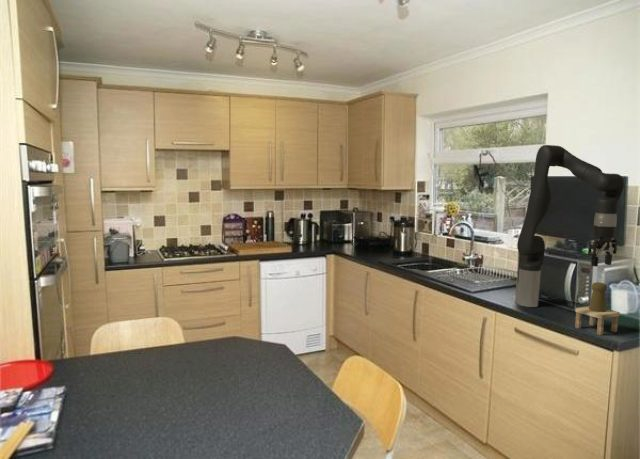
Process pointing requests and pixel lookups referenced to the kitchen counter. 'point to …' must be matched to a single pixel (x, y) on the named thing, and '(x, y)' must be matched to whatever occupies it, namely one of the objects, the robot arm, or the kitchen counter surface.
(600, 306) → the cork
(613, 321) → the birch stool
